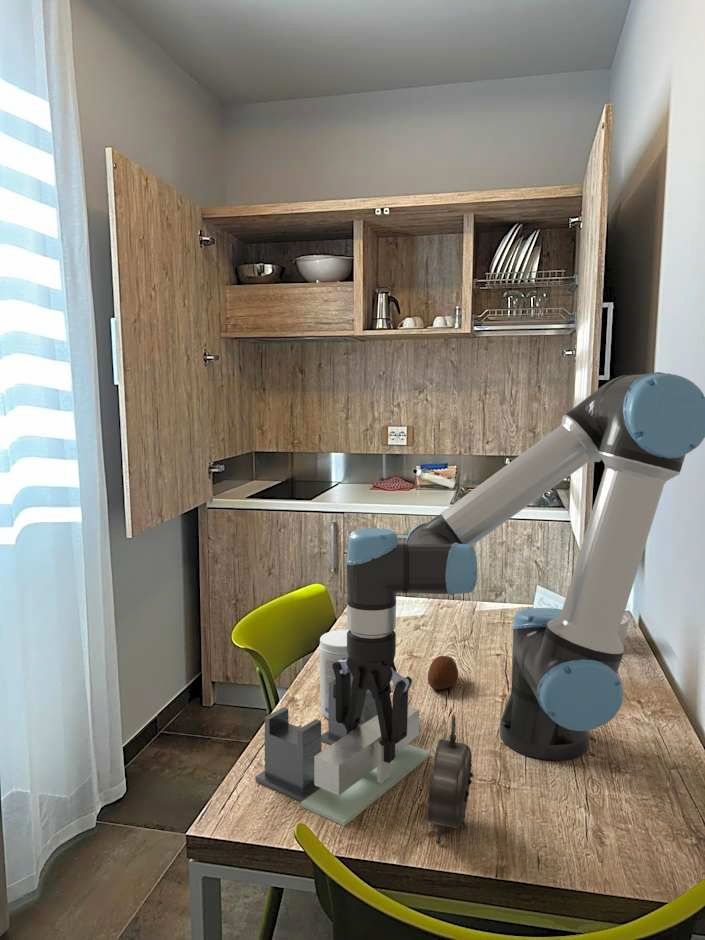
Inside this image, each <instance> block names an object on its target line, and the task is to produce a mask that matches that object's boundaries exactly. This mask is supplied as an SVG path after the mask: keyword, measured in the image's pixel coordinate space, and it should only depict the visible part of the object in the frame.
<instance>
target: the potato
mask: <svg viewBox="0 0 705 940" xmlns="http://www.w3.org/2000/svg"><path fill="white" fill-rule="evenodd" d="M458 679H459V670H458V666H457V663H456V660H455V659H453V658H452V657H451V656H449V655H439V656H437V657H436V658H434V659H433V660H432V662H431V664H430V665H429V668H428V672H427V683H428V684H429V685H428V686H430V687H431V689H434V690H446V689H450V688H452V687H454V686H455V684H456V683H457V682H458Z"/></svg>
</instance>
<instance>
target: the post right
mask: <svg viewBox="0 0 705 940" xmlns="http://www.w3.org/2000/svg"><path fill="white" fill-rule="evenodd" d="M351 694H352V691H351ZM376 715H377V709H376V704H375V700H374V699H373V698H372V693H371V691H370V690H368V689H367V692H366V697H365V701H364V706H363V711H362V715H361V721H362V723H360V724H359V725H358V727H359V726H361V725H363V724H364V723H366V722H367V721H369V720H370V719H372V718H373V717H375V716H376ZM327 719H328V720H327V721H328V730H327V731H326V732H324V733H323V734H321V742H323V743H326V744H328V745H329V746H330V745H332V744H333V743H335V742H337V741H338V740H340V739H341V738H343V737H344V736H346V735H347V729H346V728H345V725H343V724H342V723H338V722H337V721H336V682H335V680H334V681H332V682H330V683H329V696H328V718H327ZM361 721H360V722H361Z"/></svg>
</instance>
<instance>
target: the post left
mask: <svg viewBox="0 0 705 940" xmlns="http://www.w3.org/2000/svg"><path fill="white" fill-rule="evenodd" d="M321 735H322V720H320V719H317V718H315V719H313V720H311V721H310V722H309V723H307V724H305V725H304V726H301V727H299V726H297V725H294V724H292V723H289V708H287V707H286V706H285V707H284V706H283V707H281V708H279V709H277V710H276V711H274V712H272V713H270V714H268V715H266V716H264V771H261V772H260V773H258V774H257V775H255V777H254V779H255V780H254V781H255V782H256V783H259V784H261V785H263V786H265V787H267V788H270V789H271V790H274V791H275V792H278V793H281V794H282V795H285V796H287V797H289V798H290V799H294V800H296V801H298V802H300V803H301V802H302V801H303V800H305V799H306V798H308V797H309V796H310V795H312V794H313V793H315V792H316V791H317V790H319V789H320V787H318V786H315V785H314V756H315V755H317V754H318V753H320V752H321V751H322V741H321Z"/></svg>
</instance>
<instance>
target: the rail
mask: <svg viewBox="0 0 705 940" xmlns="http://www.w3.org/2000/svg"><path fill="white" fill-rule="evenodd" d="M392 709H393V704H392ZM419 735H420V709H419V708H416V707H413V706H410V705H408V718H407V736H406V737H405V738H404V739H402V740H401V741H400V742H398V743H395V753H396V752H397V751H399V750H400V749H401V748H403V747H404V746H405V745H407V744H409V743H411V742H412V741H413V740H414V739H416V738H418V737H419ZM381 739H382V737H381V732H380V726H379V721H378V715H376V716H375V717H373V718H372V719H370V720H369V721H367V722H366V723H364V724H363V725H361V726H360V727H358V728H357V729H355V730H353V731H352V732H350V733H349V734H347V735H346V736H344V737H343V738H341V739H340V740H338V741H337V742H335V743H333V744H332V745H330V744H329V746H327V747H326V748H324V749H323V750H321V752H320V753H318V754H317V755H315V756H314V785H315V786H318V787H320V788H322V789H325V790H327V791H329V792H331V793H334V794H336V795H338V796H339V795H340V794H342V793H343V792H344V791H346V790H347V789H348V788H350V787H351V786H352V785H354V784H355V783H356V782H358V781H359V780H360V779H362V778H363V777H364V776H366V775H367V774H368V773H370V772H371V771H372V770H374V769H375V768H376V767H377V750H378V742H379V741H380V740H381Z"/></svg>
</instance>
